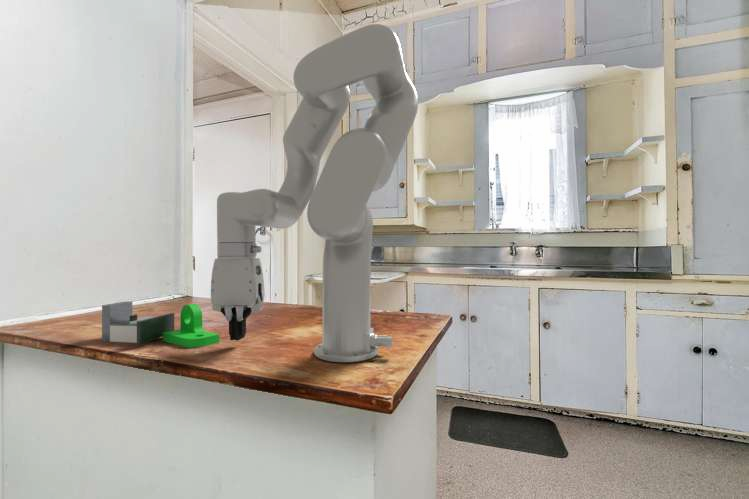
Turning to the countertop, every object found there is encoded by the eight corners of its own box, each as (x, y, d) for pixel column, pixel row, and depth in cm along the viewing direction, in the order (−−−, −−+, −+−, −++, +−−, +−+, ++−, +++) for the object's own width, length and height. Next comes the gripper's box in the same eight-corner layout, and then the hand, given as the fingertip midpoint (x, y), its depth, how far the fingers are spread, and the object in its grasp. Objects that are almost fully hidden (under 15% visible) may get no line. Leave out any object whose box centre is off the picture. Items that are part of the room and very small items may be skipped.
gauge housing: (160, 336, 82) (160, 302, 82) (139, 342, 76) (139, 306, 76) (124, 334, 83) (124, 301, 83) (101, 341, 77) (102, 305, 77)
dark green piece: (174, 332, 82) (174, 310, 82) (140, 344, 72) (140, 319, 72) (149, 331, 82) (149, 310, 82) (112, 342, 73) (112, 318, 73)
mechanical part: (162, 341, 78) (162, 306, 78) (188, 336, 83) (188, 302, 83) (192, 350, 71) (193, 311, 71) (219, 343, 76) (219, 307, 76)
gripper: (277, 251, 75) (278, 335, 75) (214, 252, 77) (215, 333, 77) (262, 251, 68) (263, 344, 68) (192, 252, 70) (193, 342, 70)
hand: (237, 338), depth 73 cm, fingers closed
